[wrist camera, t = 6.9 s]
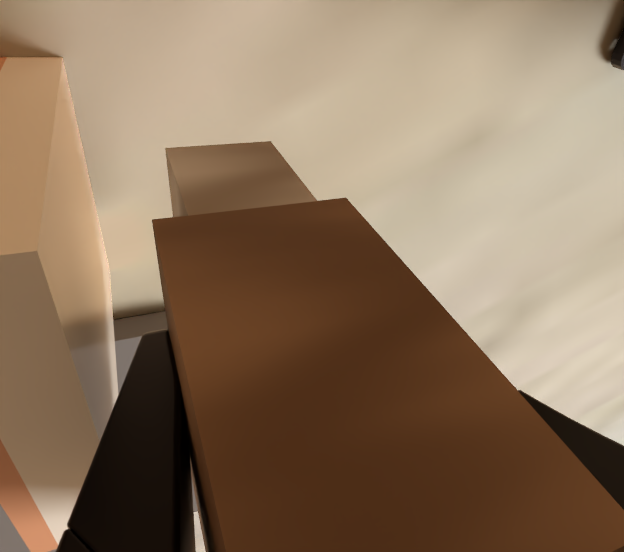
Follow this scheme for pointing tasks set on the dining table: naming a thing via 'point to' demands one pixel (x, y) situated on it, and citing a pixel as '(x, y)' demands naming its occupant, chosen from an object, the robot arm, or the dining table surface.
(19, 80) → the tile
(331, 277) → the brown wooden block
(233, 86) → the dining table surface
